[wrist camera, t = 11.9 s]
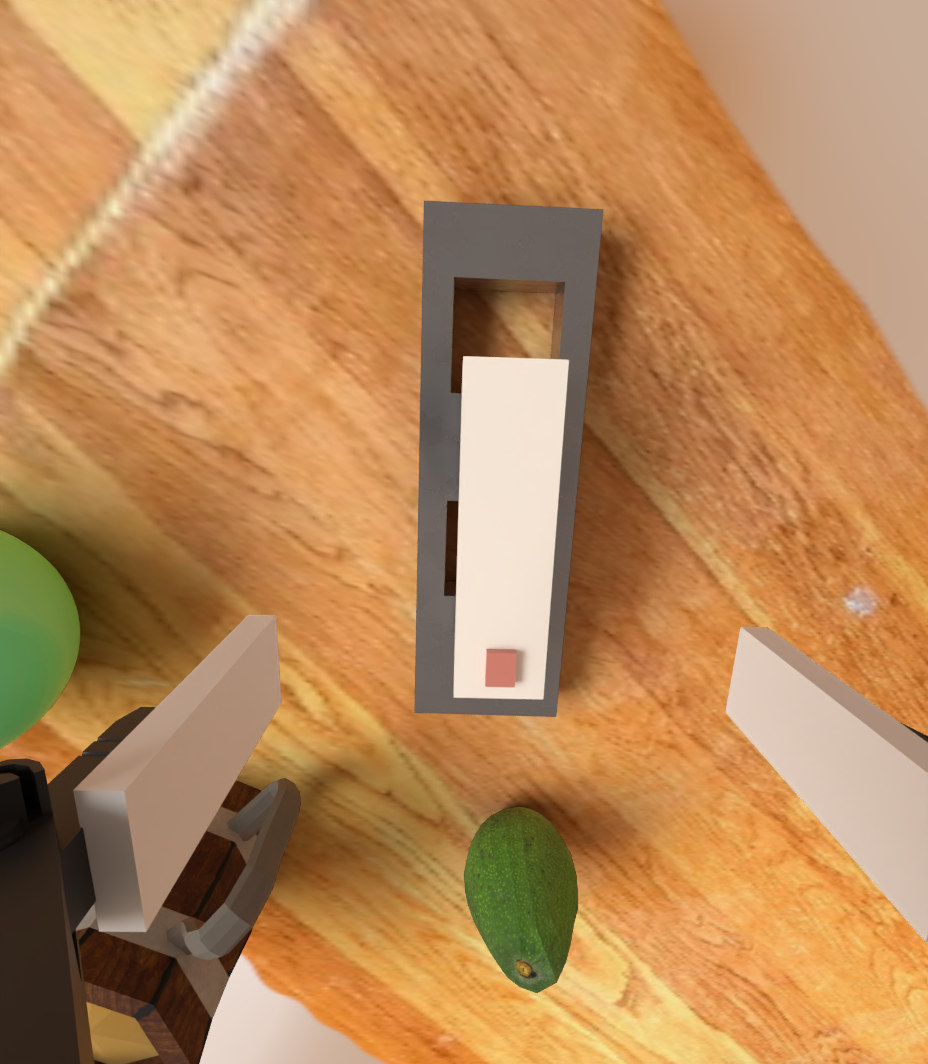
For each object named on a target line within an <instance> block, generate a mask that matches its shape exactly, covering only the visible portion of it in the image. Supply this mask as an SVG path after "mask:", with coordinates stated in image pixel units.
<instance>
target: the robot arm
mask: <svg viewBox="0 0 928 1064" xmlns="http://www.w3.org/2000/svg"><path fill="white" fill-rule="evenodd" d="M280 704H281V687H280V671H279V655H278V639H277V624H276V615H247V616H246V617H245V618H244V619H243V620H242V621H241V622H240V623H239V624H238V625H237V626H236V627H235V628H234V629H233V630H232V631H231V632H230V633H229V634H228V635H227V636H226V637H225V638H224V639H223V640H222V641H221V642H220V643H219V644H218V645H217V646H216V647H215V648H214V649H213V650H212V651H211V652H210V653H209V654H208V655H207V657H206V658H205V659H204V660H203V661H202V662H201V663H200V664H199V665H198V666H197V667H196V668H195V669H194V670H193V671H192V672H191V673H190V674H189V675H188V676H187V677H186V678H185V679H184V680H183V681H182V682H181V683H180V684H179V685H178V686H177V687H176V688H175V689H174V690H173V691H172V692H171V693H170V694H169V695H168V696H167V697H166V698H165V699H164V700H163V701H162V702H161V703H160V704H159V705H158V706H157V707H140V708H138V709H137V710H135V711H133V712H131V713H130V714H128V715H126V716H124V717H122V718H121V719H119V720H117V721H116V722H115V723H113V724H112V725H111V726H110V727H109V728H108V729H107V730H106V731H105V732H104V733H103V734H102V735H101V736H99V737H98V740H97V741H94V742H93V743H92V744H91V745H90V746H89V747H88V748H86V749H85V750H84V751H83V753H82V756H78V757H77V758H76V759H75V760H74V761H72V762H71V763H70V764H69V765H68V766H67V767H66V768H65V769H64V770H63V771H62V772H61V773H60V774H58V775H57V776H56V777H55V778H54V779H53V780H52V781H51V782H50V783H49V784H48V785H47V780H46V775H45V770H44V768H43V767H42V765H41V764H40V762H38V761H34V760H30V759H11V760H5V761H1V762H0V1064H94V1057H93V1049H92V1042H91V1034H90V1026H89V1018H88V1011H87V1003H86V995H85V987H84V980H83V972H82V964H81V956H80V949H79V942H78V936H77V931H76V928H77V926H78V925H79V924H80V922H81V921H82V920H83V918H84V917H85V915H86V914H87V913H88V911H89V910H90V909H91V907H92V906H93V904H94V906H95V911H96V917H97V922H98V928H99V932H147V930H148V928H149V926H150V925H151V923H152V921H153V920H154V918H155V916H156V915H157V913H158V911H159V909H160V908H161V906H162V904H163V903H164V901H165V899H166V898H167V896H168V894H169V893H170V891H171V889H172V887H173V886H174V884H175V882H176V881H177V879H178V877H179V876H180V874H181V872H182V871H183V869H184V867H185V865H186V864H187V862H188V860H189V859H190V857H191V855H192V854H193V852H194V850H195V849H196V847H197V845H198V843H199V842H200V840H201V838H202V837H203V835H204V833H205V832H206V830H207V828H208V826H209V825H210V823H211V821H212V820H213V818H214V816H215V815H216V813H217V811H218V810H219V808H220V806H221V804H222V803H223V801H224V799H225V798H226V796H227V794H228V793H229V791H230V789H231V788H232V786H233V784H234V782H235V781H236V779H237V777H238V776H239V774H240V772H241V771H242V769H243V767H244V765H245V764H246V762H247V760H248V759H249V757H250V755H251V754H252V752H253V750H254V749H255V747H256V745H257V743H258V742H259V740H260V738H261V737H262V735H263V733H264V732H265V730H266V728H267V727H268V725H269V723H270V721H271V720H272V718H273V716H274V715H275V713H276V711H277V710H278V708H279V706H280ZM726 713H727V715H728V716H729V717H730V718H731V719H732V720H733V721H734V723H735V724H736V725H737V726H738V727H739V728H740V730H741V731H742V732H743V733H744V734H745V735H746V736H747V738H748V739H749V740H750V741H751V742H752V743H753V744H754V746H755V747H756V748H757V749H758V750H759V751H760V752H761V754H762V755H763V756H764V757H765V758H766V759H767V761H768V762H769V763H770V764H771V765H772V766H773V767H774V769H775V770H776V771H777V772H778V773H779V774H780V775H781V777H782V778H783V779H784V780H785V781H786V782H787V783H788V785H789V786H790V787H791V788H792V789H793V790H794V792H795V793H796V794H797V795H798V796H799V797H800V798H801V800H802V801H803V802H804V803H805V804H806V805H807V806H808V808H809V809H810V810H811V811H812V812H813V813H814V814H815V816H816V817H817V818H818V819H819V820H820V821H821V823H822V824H823V825H824V826H825V827H826V828H827V829H828V831H829V832H830V833H831V834H832V835H833V836H834V837H835V839H836V840H837V841H838V842H839V843H840V844H841V845H842V847H843V848H844V849H845V850H846V851H847V852H848V854H849V855H850V856H851V857H852V858H853V859H854V860H855V862H856V863H857V864H858V865H859V866H860V867H861V868H862V870H863V871H864V872H865V873H866V874H867V875H868V876H869V878H870V879H871V880H872V881H873V882H874V883H875V885H876V886H877V887H878V888H879V889H880V890H881V891H882V893H883V894H884V895H885V896H886V897H887V898H888V899H889V901H890V902H891V903H892V904H893V905H894V906H895V907H896V909H897V910H898V911H899V912H900V913H901V914H902V916H903V917H904V918H905V919H906V920H907V921H908V922H909V924H910V925H911V926H912V927H913V928H914V929H915V930H916V932H917V933H918V934H919V935H920V936H921V937H922V938H923V940H924V941H925V942H928V736H926V735H924V734H922V733H920V732H918V731H916V730H914V729H912V728H910V727H908V726H906V725H904V724H902V723H900V722H898V721H897V720H896V719H894V718H893V717H891V716H890V715H889V714H887V713H886V712H884V711H883V710H882V709H880V708H879V707H878V706H876V705H875V704H873V703H872V702H871V701H869V700H868V699H866V698H865V697H864V696H862V695H861V694H859V693H858V692H857V691H855V690H854V689H852V688H851V687H850V686H848V685H847V684H846V683H844V682H843V681H841V680H840V679H839V678H837V677H836V676H834V675H833V674H832V673H830V672H829V671H827V670H826V669H825V668H823V667H822V666H820V665H819V664H818V663H816V662H815V661H814V660H812V659H811V658H809V657H808V656H807V655H805V654H804V653H802V652H801V651H800V650H798V649H797V648H795V647H794V646H793V645H791V644H790V643H788V642H787V641H786V640H784V639H783V638H782V637H780V636H779V635H777V634H776V633H775V632H773V631H772V630H770V629H769V628H768V627H741V628H740V634H739V640H738V645H737V651H736V656H735V662H734V668H733V673H732V679H731V684H730V690H729V696H728V701H727V707H726Z"/></svg>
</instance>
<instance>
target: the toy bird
mask: <svg viewBox="0 0 928 1064" xmlns="http://www.w3.org/2000/svg"><path fill="white" fill-rule="evenodd" d="M79 646H80V622H79V616H78V611H77V608H76V604H75V601H74V599H73V596H72V594H71V592H70V590H69V588H68V586H67V584H66V583H65V581H64V579H63V578H62V577H61V575H60V574H59V572H58V571H57V570H56V569H55V568H54V567H53V565H52V564H51V563H50V562H49V561H48V560H47V559H46V558H44V557H43V556H42V555H41V554H40V553H38V552H37V551H36V550H35V549H33V548H32V547H30V546H29V545H27V544H26V543H24V542H23V541H21V540H19V539H17V538H16V537H14V536H12V535H10V534H8V533H6V532H4V531H2V530H0V749H1V748H3V747H4V746H6V745H8V744H9V743H11V742H12V741H14V740H15V739H17V738H18V737H20V736H21V735H23V734H24V733H25V732H26V731H28V730H29V729H30V728H31V727H32V726H34V725H35V724H36V723H37V722H38V721H39V720H40V719H41V718H42V717H43V716H44V715H45V714H46V713H47V712H48V711H49V709H50V708H51V707H52V706H53V704H54V703H55V702H56V701H57V699H58V698H59V696H60V695H61V693H62V692H63V690H64V688H65V687H66V685H67V683H68V681H69V679H70V677H71V674H72V672H73V669H74V667H75V664H76V660H77V656H78V652H79Z"/></svg>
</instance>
